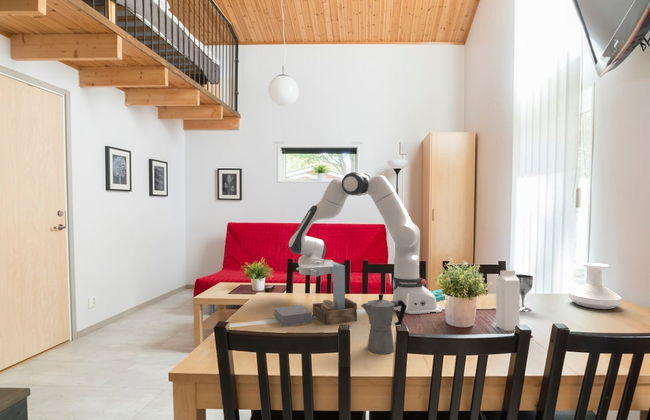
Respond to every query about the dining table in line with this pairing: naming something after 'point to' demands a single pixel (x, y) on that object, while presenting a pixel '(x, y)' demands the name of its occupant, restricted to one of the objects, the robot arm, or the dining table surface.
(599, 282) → the candle holder
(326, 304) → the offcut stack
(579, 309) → the dining table surface
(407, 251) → the robot arm
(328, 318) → the brown wooden box
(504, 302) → the milk
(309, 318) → the stand
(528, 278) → the wine glass
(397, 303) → the coffeepot
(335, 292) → the panel
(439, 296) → the alien figure
